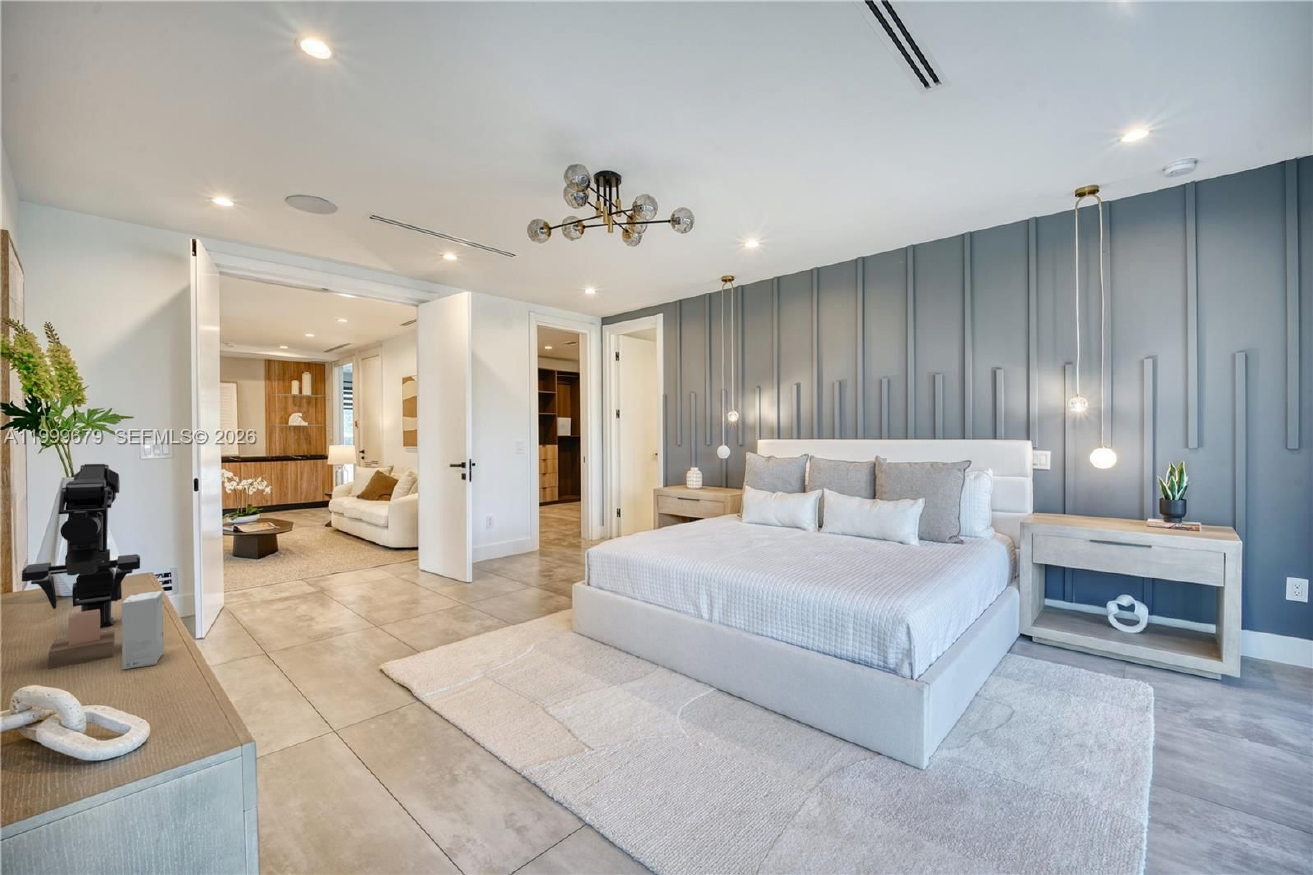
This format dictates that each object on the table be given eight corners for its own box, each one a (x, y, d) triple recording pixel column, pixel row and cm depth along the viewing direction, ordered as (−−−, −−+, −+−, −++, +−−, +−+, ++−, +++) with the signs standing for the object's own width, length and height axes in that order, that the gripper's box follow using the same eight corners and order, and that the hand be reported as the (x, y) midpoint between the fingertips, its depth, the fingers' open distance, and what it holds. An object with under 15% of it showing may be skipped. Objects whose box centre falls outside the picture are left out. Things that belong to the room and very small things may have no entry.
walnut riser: (53, 657, 128) (54, 639, 128) (114, 646, 135) (114, 630, 135) (48, 670, 121) (48, 652, 121) (112, 658, 128) (113, 641, 128)
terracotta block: (68, 639, 128) (68, 613, 128) (99, 634, 132) (99, 609, 132) (68, 645, 125) (68, 618, 125) (100, 639, 129) (100, 613, 129)
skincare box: (156, 665, 124) (157, 598, 124) (119, 671, 120) (120, 602, 120) (163, 652, 131) (164, 589, 131) (129, 658, 127) (130, 592, 127)
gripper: (18, 546, 116) (17, 621, 116) (140, 536, 129) (139, 604, 129) (26, 539, 124) (25, 609, 124) (140, 530, 137) (139, 594, 137)
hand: (84, 604), depth 128 cm, fingers open, 9 cm apart
